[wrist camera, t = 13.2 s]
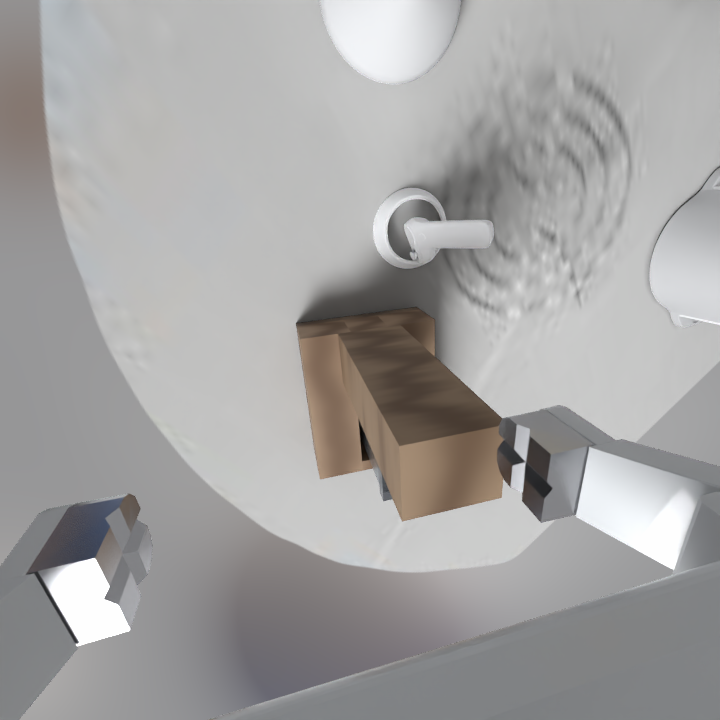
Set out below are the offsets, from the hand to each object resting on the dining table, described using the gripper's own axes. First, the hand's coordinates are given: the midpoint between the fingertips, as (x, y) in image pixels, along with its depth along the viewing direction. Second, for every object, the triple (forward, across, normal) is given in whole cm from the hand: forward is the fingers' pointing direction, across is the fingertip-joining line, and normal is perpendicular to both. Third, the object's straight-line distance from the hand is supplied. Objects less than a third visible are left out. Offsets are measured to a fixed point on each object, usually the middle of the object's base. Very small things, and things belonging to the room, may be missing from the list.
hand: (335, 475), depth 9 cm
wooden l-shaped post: (+31, -7, +14) cm, 35 cm away
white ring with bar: (+32, -13, -2) cm, 34 cm away
